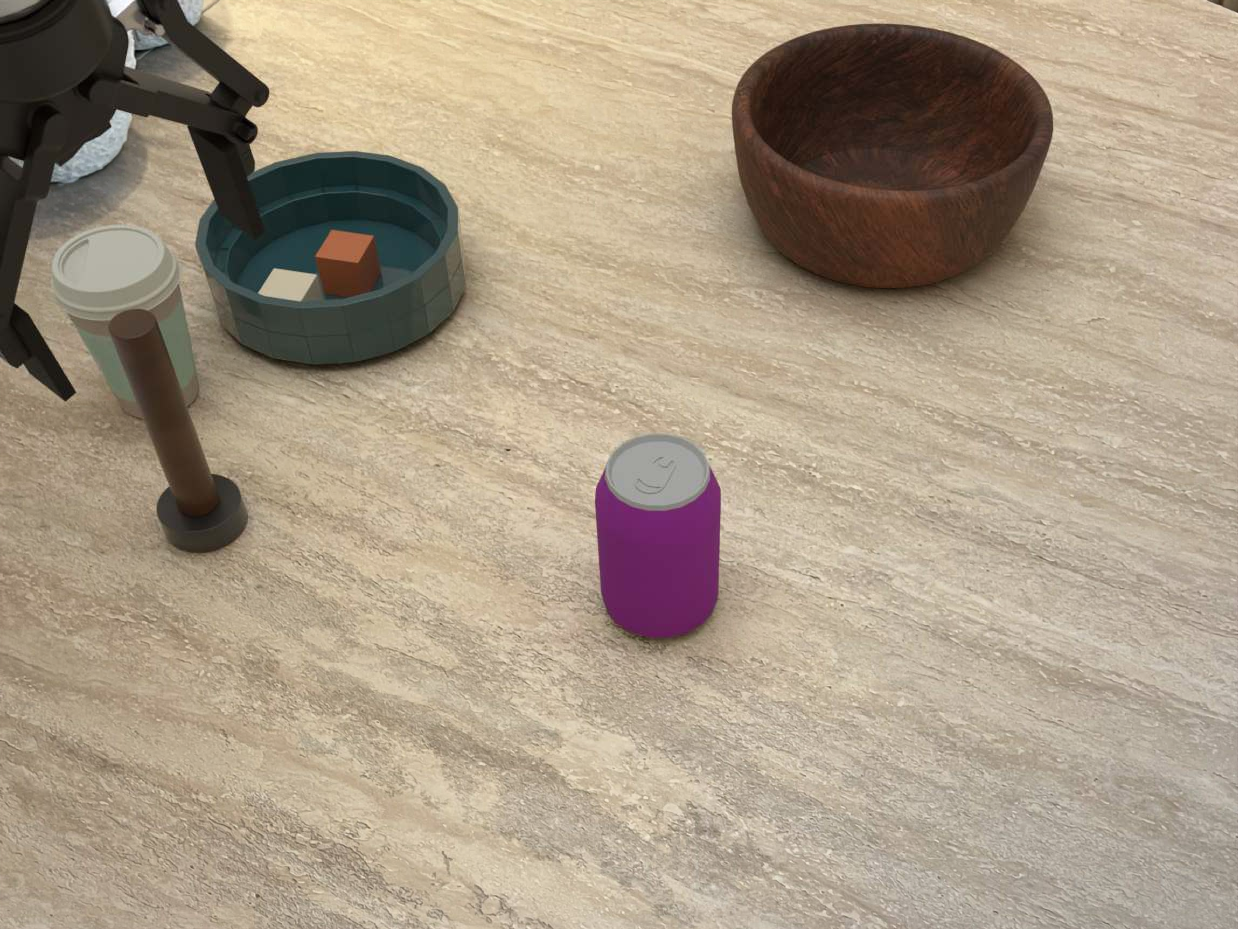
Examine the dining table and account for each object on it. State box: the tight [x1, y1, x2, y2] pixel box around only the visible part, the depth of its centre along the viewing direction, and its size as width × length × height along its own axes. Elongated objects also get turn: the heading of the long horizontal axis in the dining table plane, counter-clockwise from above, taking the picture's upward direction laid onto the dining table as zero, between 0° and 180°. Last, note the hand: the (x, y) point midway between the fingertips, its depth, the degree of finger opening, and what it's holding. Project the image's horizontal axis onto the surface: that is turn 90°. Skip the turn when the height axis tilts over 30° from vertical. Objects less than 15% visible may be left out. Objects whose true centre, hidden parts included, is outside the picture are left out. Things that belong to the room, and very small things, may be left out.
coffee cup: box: [50, 224, 200, 420], centre depth 103 cm, size 9×8×12 cm
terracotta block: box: [315, 230, 381, 297], centre depth 113 cm, size 4×4×4 cm
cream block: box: [258, 268, 323, 301], centre depth 111 cm, size 4×4×4 cm
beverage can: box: [594, 432, 722, 639], centre depth 91 cm, size 8×8×12 cm
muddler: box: [108, 309, 248, 553], centre depth 93 cm, size 6×6×17 cm
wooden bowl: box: [731, 22, 1054, 289], centre depth 118 cm, size 25×25×10 cm
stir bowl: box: [194, 150, 467, 365], centre depth 113 cm, size 20×20×6 cm
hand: (150, 301), depth 78 cm, fingers open, 13 cm apart
